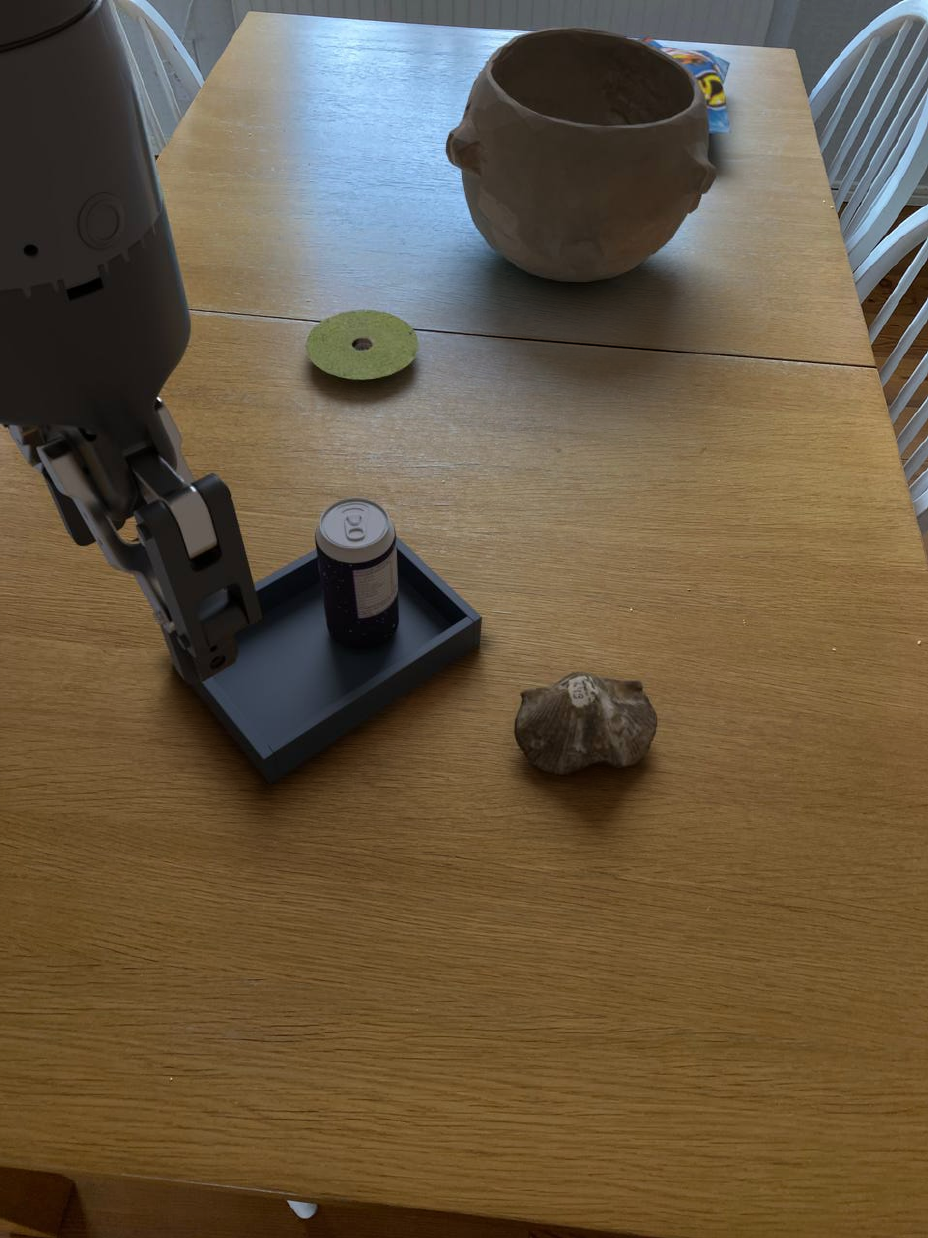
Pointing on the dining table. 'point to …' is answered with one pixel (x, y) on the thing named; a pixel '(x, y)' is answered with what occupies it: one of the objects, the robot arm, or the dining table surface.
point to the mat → (362, 344)
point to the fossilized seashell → (585, 723)
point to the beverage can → (358, 572)
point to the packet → (705, 81)
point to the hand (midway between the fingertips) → (152, 596)
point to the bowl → (581, 152)
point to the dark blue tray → (330, 663)
